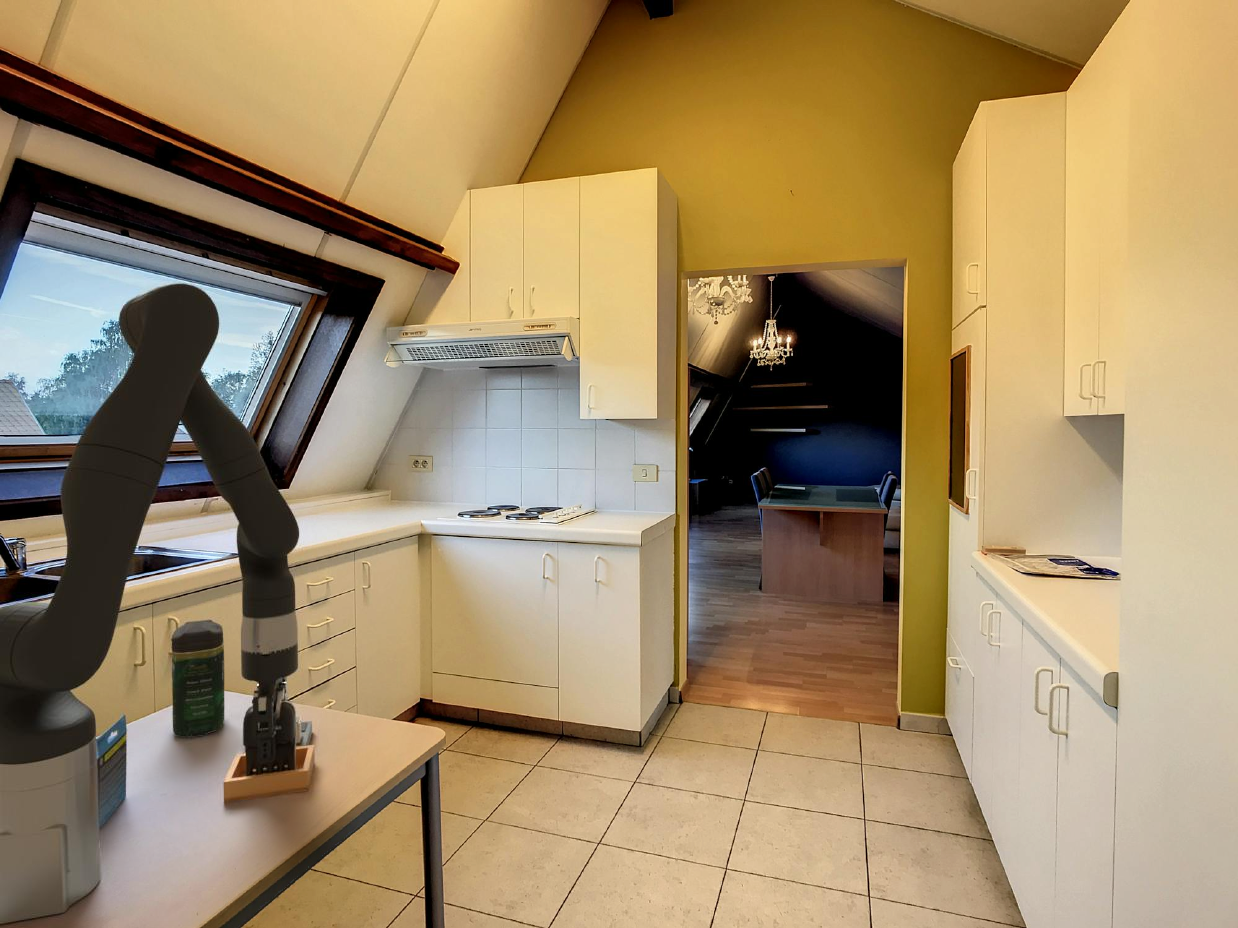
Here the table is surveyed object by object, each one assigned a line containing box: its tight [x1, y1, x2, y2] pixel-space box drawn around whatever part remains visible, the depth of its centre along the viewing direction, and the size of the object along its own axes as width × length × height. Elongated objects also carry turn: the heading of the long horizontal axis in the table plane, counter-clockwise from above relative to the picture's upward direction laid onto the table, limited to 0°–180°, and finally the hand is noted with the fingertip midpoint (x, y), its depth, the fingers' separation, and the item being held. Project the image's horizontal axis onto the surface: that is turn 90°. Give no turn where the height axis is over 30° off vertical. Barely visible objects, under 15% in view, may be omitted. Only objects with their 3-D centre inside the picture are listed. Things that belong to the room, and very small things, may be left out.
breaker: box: [296, 716, 302, 743], centre depth 112 cm, size 2×3×3 cm
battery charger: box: [242, 700, 297, 776], centre depth 102 cm, size 7×4×11 cm, turn 108°
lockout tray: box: [222, 744, 315, 804], centre depth 103 cm, size 9×11×3 cm
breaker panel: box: [242, 720, 313, 754], centre depth 113 cm, size 12×9×2 cm
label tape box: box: [96, 713, 128, 830], centre depth 94 cm, size 9×4×12 cm, turn 15°
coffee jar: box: [170, 619, 226, 738], centre depth 121 cm, size 10×8×19 cm
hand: (271, 748), depth 103 cm, fingers open, 8 cm apart
